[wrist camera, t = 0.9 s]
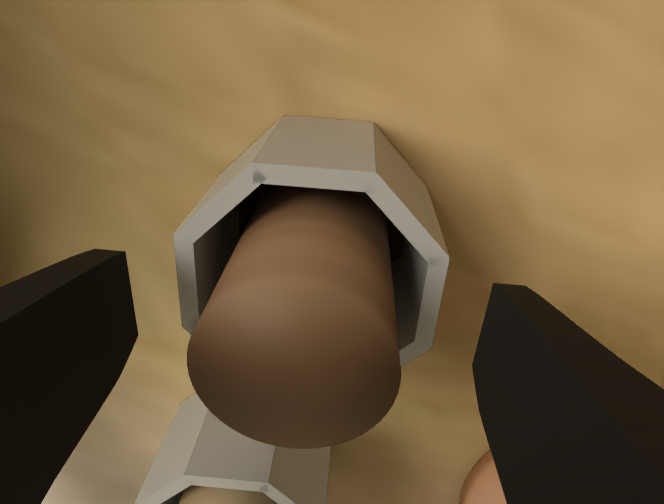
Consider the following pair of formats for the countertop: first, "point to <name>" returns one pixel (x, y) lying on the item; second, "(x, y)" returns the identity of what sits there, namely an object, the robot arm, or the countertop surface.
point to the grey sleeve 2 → (230, 462)
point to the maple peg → (222, 496)
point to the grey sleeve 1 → (326, 173)
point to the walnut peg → (302, 322)
